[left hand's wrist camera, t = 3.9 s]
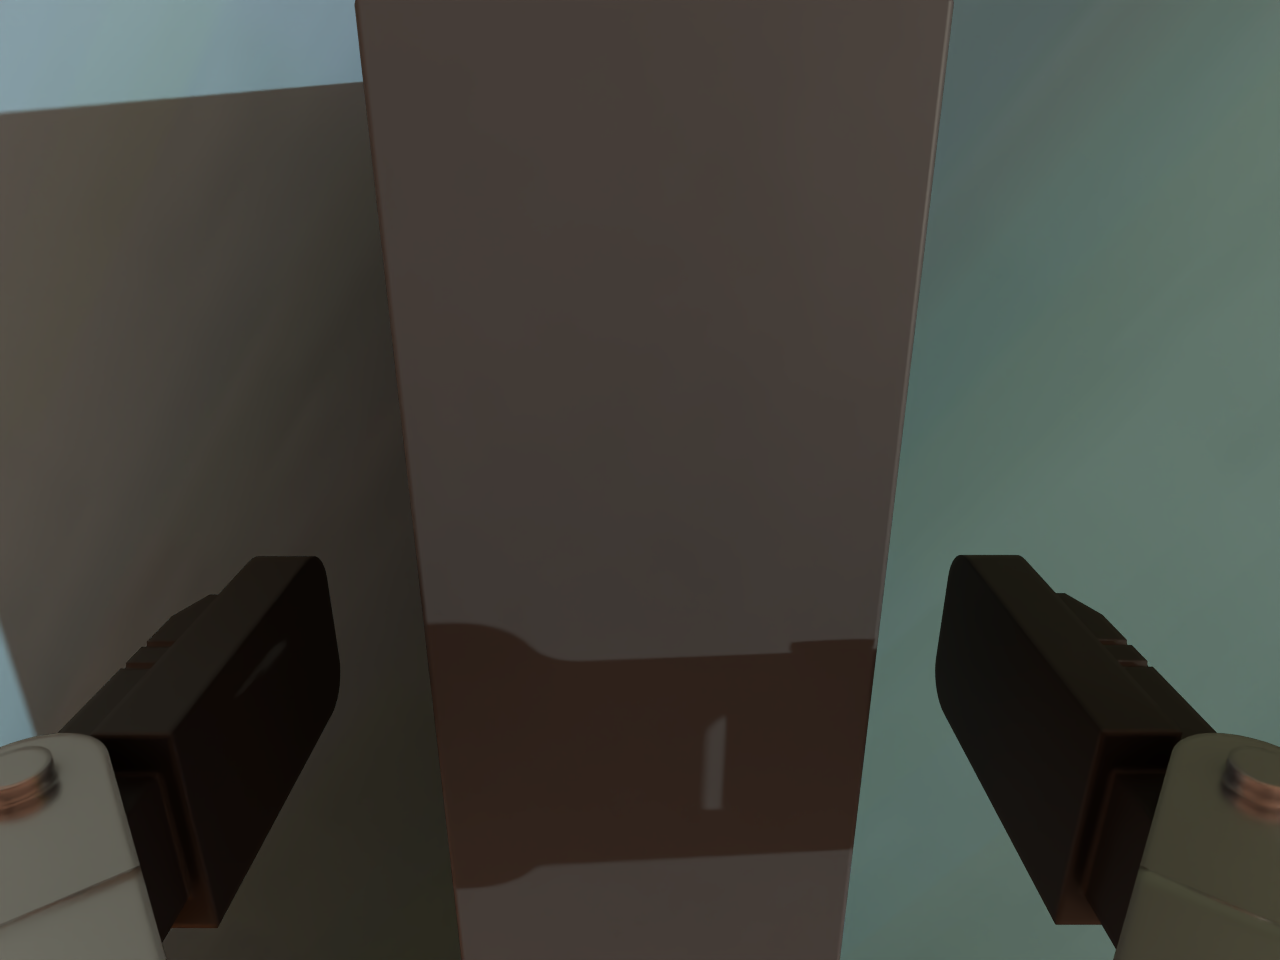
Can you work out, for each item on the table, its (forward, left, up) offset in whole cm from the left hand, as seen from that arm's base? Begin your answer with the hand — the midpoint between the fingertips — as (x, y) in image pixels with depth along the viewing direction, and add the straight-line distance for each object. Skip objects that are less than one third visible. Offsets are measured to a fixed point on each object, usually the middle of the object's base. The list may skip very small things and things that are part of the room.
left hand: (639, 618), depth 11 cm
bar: (+16, -18, -6) cm, 25 cm away
